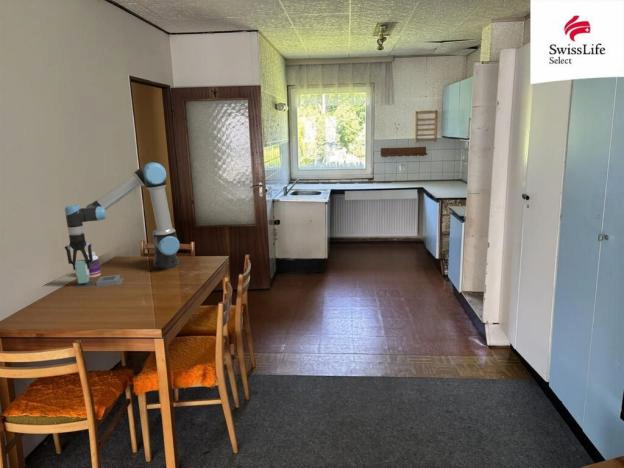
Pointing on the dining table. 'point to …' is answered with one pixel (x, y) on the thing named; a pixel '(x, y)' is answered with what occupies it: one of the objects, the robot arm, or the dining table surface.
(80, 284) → the mat
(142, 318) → the dining table surface
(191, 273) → the dining table surface
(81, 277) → the plug
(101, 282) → the grey socket tray
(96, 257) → the pill bottle
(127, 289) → the dining table surface
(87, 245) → the robot arm
